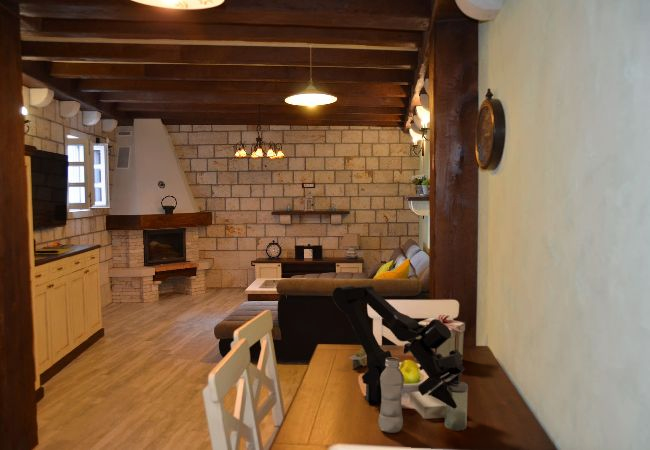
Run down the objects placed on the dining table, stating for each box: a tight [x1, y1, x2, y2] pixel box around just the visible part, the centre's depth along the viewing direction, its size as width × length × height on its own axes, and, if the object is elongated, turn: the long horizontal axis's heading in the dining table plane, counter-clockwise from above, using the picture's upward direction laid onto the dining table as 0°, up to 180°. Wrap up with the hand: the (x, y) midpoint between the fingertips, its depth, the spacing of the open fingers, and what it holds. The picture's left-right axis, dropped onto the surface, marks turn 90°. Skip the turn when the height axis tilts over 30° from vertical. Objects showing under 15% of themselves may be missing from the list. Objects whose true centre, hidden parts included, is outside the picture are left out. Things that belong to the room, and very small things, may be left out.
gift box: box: [414, 314, 467, 362], centre depth 212 cm, size 17×18×17 cm
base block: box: [409, 390, 445, 420], centre depth 163 cm, size 12×12×4 cm
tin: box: [444, 380, 469, 432], centre depth 151 cm, size 6×6×12 cm
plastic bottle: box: [377, 356, 405, 434], centre depth 147 cm, size 6×7×20 cm
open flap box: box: [349, 348, 367, 370], centre depth 202 cm, size 12×18×7 cm, turn 147°
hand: (460, 404), depth 150 cm, fingers closed on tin, 6 cm apart
